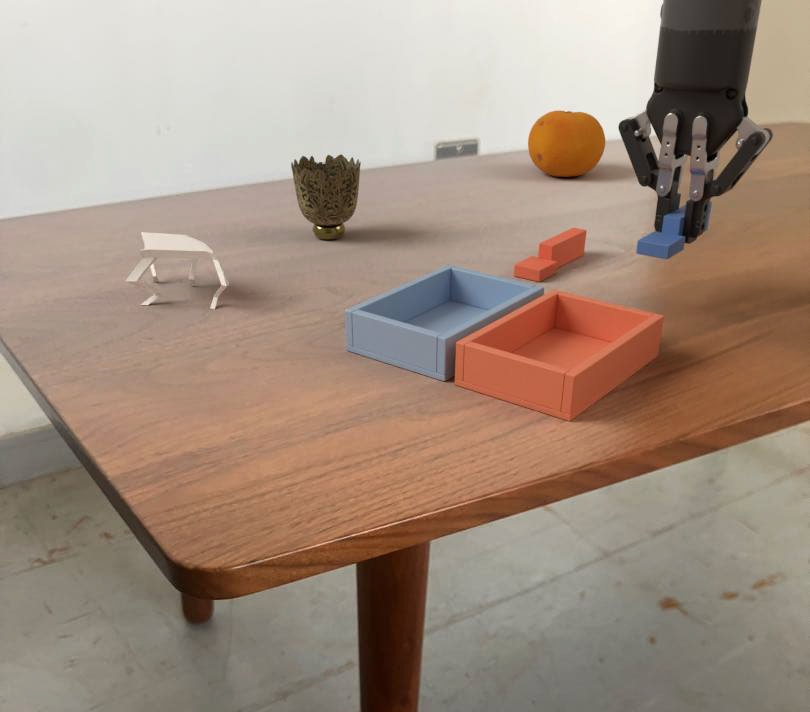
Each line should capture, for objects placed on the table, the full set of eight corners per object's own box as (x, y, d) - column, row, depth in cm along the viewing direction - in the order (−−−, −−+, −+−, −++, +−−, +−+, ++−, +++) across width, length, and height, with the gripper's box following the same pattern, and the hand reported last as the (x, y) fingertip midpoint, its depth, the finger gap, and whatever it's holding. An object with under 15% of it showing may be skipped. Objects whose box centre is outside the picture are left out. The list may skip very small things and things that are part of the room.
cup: (358, 225, 106) (356, 152, 102) (367, 244, 100) (365, 167, 96) (293, 229, 105) (288, 154, 101) (298, 248, 99) (293, 170, 95)
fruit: (603, 167, 130) (610, 105, 126) (599, 184, 122) (606, 119, 117) (530, 163, 132) (534, 102, 128) (520, 180, 124) (525, 116, 119)
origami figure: (103, 303, 85) (93, 250, 83) (156, 275, 92) (148, 225, 89) (214, 321, 82) (207, 266, 79) (261, 291, 88) (256, 239, 85)
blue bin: (541, 325, 81) (544, 286, 79) (444, 381, 71) (445, 339, 69) (447, 301, 86) (448, 264, 84) (345, 350, 76) (344, 309, 74)
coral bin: (657, 356, 75) (664, 315, 73) (569, 421, 66) (575, 376, 64) (550, 328, 80) (554, 289, 78) (454, 384, 71) (455, 341, 69)
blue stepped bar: (684, 226, 87) (688, 198, 86) (714, 231, 86) (719, 202, 84) (635, 253, 81) (639, 223, 79) (667, 259, 79) (671, 229, 78)
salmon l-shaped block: (565, 250, 98) (567, 226, 97) (590, 256, 97) (592, 231, 95) (513, 276, 92) (515, 250, 90) (539, 282, 90) (541, 255, 89)
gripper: (811, 19, 72) (767, 241, 82) (650, 14, 79) (627, 218, 89) (778, 28, 68) (735, 263, 77) (609, 21, 75) (590, 237, 84)
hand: (677, 238), depth 83 cm, fingers closed on blue stepped bar, 1 cm apart
